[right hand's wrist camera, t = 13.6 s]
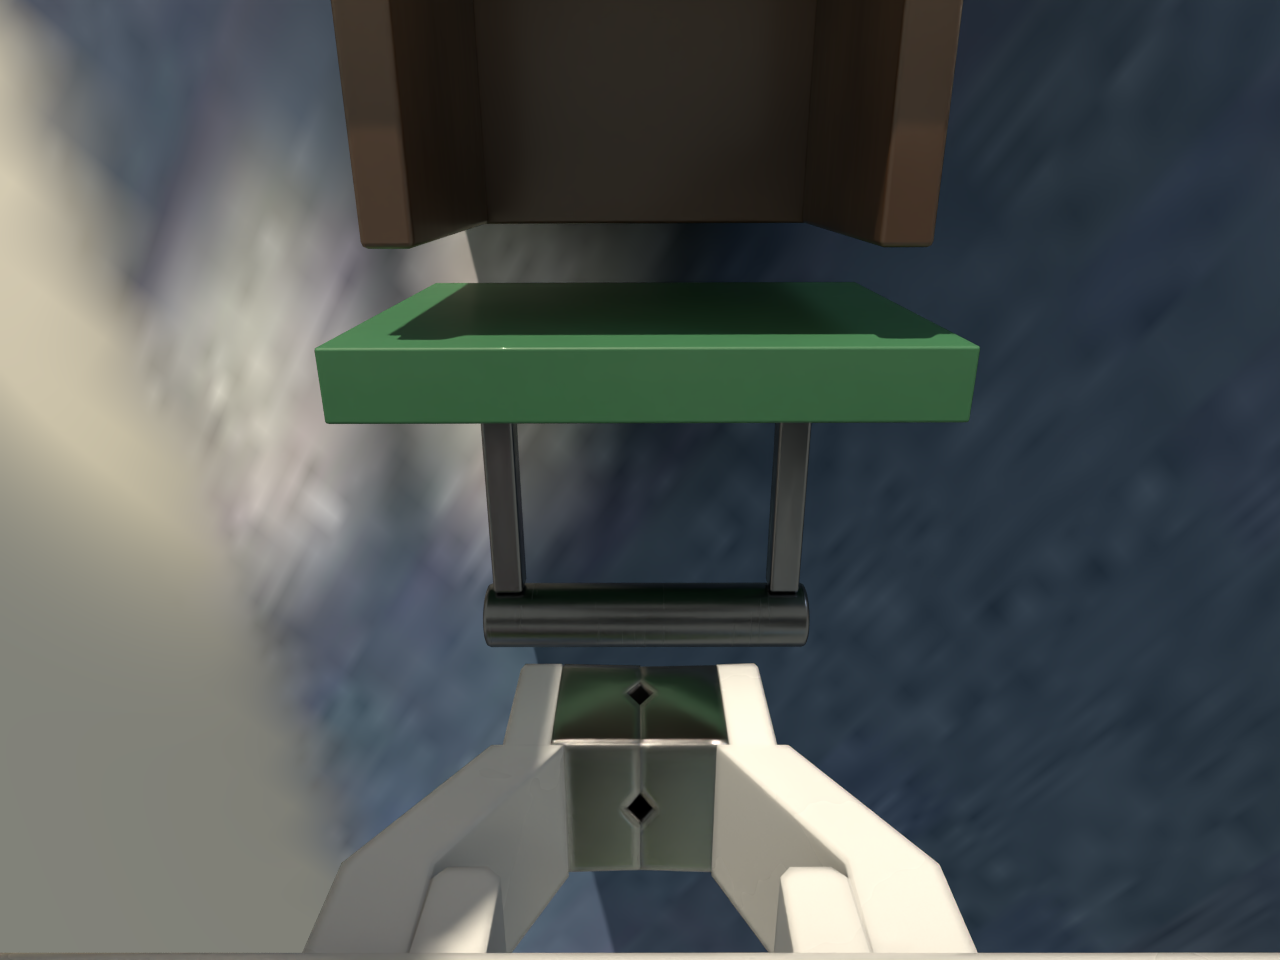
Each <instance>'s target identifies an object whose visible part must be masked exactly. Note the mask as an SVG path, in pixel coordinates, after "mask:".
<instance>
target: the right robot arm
mask: <svg viewBox="0 0 1280 960" xmlns="http://www.w3.org/2000/svg"><path fill="white" fill-rule="evenodd" d="M617 870H661V871H697V872H712V873H711V875H712V877H713V878H714V880H715V881H716V882H717V884H718V885H719V886H720V888H721V889H722V890H723V892H724V893H725V894H726V896H727V897H728V898H729V900H730V901H731V902H732V904H733V905H734V907H735V908H736V909H737V911H738V912H739V913H740V915H741V916H742V917H743V919H744V920H745V921H746V923H747V924H748V925H749V927H750V928H751V930H752V931H753V932H754V934H755V935H756V936H757V938H758V939H759V940H760V942H761V943H762V944H763V946H764V947H765V948H766V950H767V951H768V952H769V953H512V952H513V950H514V949H515V948H516V946H517V945H518V944H519V942H520V941H521V940H522V938H523V937H524V936H525V934H526V933H527V931H528V930H529V929H530V927H531V926H532V925H533V923H534V922H535V921H536V919H537V918H538V917H539V915H540V914H541V913H542V911H543V910H544V909H545V907H546V906H547V905H548V903H549V902H550V901H551V899H552V898H553V897H554V895H555V894H556V893H557V891H558V890H559V888H560V887H561V886H562V884H563V883H564V882H565V880H566V879H567V878H568V876H569V872H583V871H617ZM0 960H1280V953H978V952H977V950H976V948H975V945H974V943H973V941H972V939H971V936H970V934H969V932H968V929H967V927H966V925H965V922H964V920H963V918H962V915H961V913H960V911H959V909H958V906H957V904H956V902H955V899H954V897H953V895H952V892H951V890H950V888H949V885H948V883H947V881H946V879H945V876H944V874H943V872H942V869H941V867H940V865H939V864H938V863H937V862H936V861H934V860H933V859H932V858H931V857H929V856H928V855H927V854H926V853H924V852H923V851H922V850H921V849H919V848H918V847H917V846H915V845H914V844H913V843H912V842H910V841H909V840H908V839H907V838H905V837H904V836H903V835H902V834H900V833H899V832H898V831H897V830H895V829H894V828H893V827H891V826H890V825H889V824H888V823H886V822H885V821H884V820H883V819H881V818H880V817H879V816H878V815H876V814H875V813H874V812H873V811H871V810H870V809H869V808H867V807H866V806H865V805H864V804H862V803H861V802H860V801H859V800H857V799H856V798H855V797H854V796H852V795H851V794H850V793H849V792H847V791H846V790H845V789H843V788H842V787H841V786H840V785H838V784H837V783H836V782H835V781H833V780H832V779H831V778H830V777H828V776H827V775H826V774H825V773H823V772H822V771H821V770H820V769H818V768H817V767H816V766H814V765H813V764H812V763H811V762H809V761H808V760H807V759H806V758H804V757H803V756H802V755H801V754H799V753H798V752H797V751H796V750H794V749H793V748H792V747H790V746H789V745H777V742H776V738H775V734H774V730H773V726H772V722H771V718H770V714H769V710H768V706H767V702H766V697H765V693H764V689H763V685H762V681H761V677H760V673H759V669H758V667H757V666H756V665H755V664H754V663H749V664H721V665H703V666H652V667H640V666H635V665H586V664H565V665H564V666H563V665H562V664H525V665H524V667H523V668H522V669H521V672H520V676H519V680H518V684H517V689H516V693H515V697H514V701H513V705H512V709H511V713H510V717H509V722H508V726H507V730H506V734H505V738H504V742H503V745H491V746H490V747H488V748H487V749H486V750H485V751H483V752H482V753H481V754H479V755H478V756H477V757H476V758H474V759H473V760H472V761H471V762H469V763H468V764H467V765H466V766H464V767H463V768H462V769H460V770H459V771H458V772H457V773H455V774H454V775H453V776H452V777H450V778H449V779H448V780H446V781H445V782H444V783H443V784H441V785H440V786H439V787H438V788H436V789H435V790H434V791H433V792H431V793H430V794H429V795H427V796H426V797H425V798H424V799H422V800H421V801H420V802H419V803H417V804H416V805H415V806H413V807H412V808H411V809H410V810H408V811H407V812H406V813H405V814H403V815H402V816H401V817H400V818H398V819H397V820H396V821H394V822H393V823H392V824H391V825H389V826H388V827H387V828H386V829H384V830H383V831H382V832H380V833H379V834H378V835H377V836H375V837H374V838H373V839H372V840H370V841H369V842H368V843H367V844H365V845H364V846H363V847H361V848H360V849H359V850H358V851H356V852H355V853H354V854H353V855H351V856H350V857H349V858H348V859H346V860H345V861H344V862H342V863H341V866H340V868H339V870H338V873H337V875H336V877H335V879H334V882H333V884H332V886H331V888H330V891H329V893H328V895H327V898H326V900H325V902H324V904H323V907H322V909H321V911H320V914H319V916H318V918H317V920H316V923H315V925H314V927H313V930H312V932H311V934H310V936H309V939H308V941H307V943H306V945H305V948H304V950H303V952H302V953H0Z"/></svg>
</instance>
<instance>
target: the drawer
mask: <svg viewBox="0 0 1280 960" xmlns="http://www.w3.org/2000/svg"><path fill="white" fill-rule="evenodd" d="M331 6H332V14H333V22H334V30H335V38H336V46H337V54H338V62H339V70H340V78H341V86H342V94H343V102H344V110H345V118H346V126H347V134H348V143H349V151H350V159H351V167H352V175H353V183H354V191H355V199H356V207H357V215H358V223H359V231H360V239H361V243H362V245H363V247H365V248H368V249H410V248H413V247H416V246H419V245H422V244H425V243H428V242H431V241H434V240H437V239H440V238H443V237H446V236H449V235H452V234H455V233H458V232H461V231H464V230H467V229H470V228H473V227H477V226H480V225H483V224H571V223H807V224H811V225H814V226H817V227H820V228H824V229H827V230H830V231H833V232H837V233H840V234H843V235H846V236H850V237H853V238H856V239H859V240H862V241H866V242H869V243H872V244H875V245H879V246H882V247H928V246H930V245H932V243H933V240H934V232H935V224H936V216H937V208H938V200H939V192H940V184H941V176H942V168H943V160H944V152H945V144H946V136H947V128H948V120H949V112H950V104H951V96H952V88H953V80H954V72H955V64H956V56H957V47H958V39H959V31H960V23H961V15H962V7H963V0H331ZM979 352H980V347H979V346H977V345H975V344H973V343H971V342H970V341H968V340H966V339H964V338H962V337H960V336H958V335H956V334H954V333H952V332H950V331H948V330H946V329H944V328H942V327H940V326H939V325H937V324H935V323H933V322H931V321H929V320H927V319H925V318H923V317H921V316H919V315H917V314H915V313H913V312H911V311H909V310H908V309H906V308H904V307H902V306H900V305H898V304H896V303H894V302H892V301H890V300H888V299H886V298H884V297H882V296H880V295H878V294H876V293H875V292H873V291H871V290H869V289H867V288H865V287H863V286H861V285H859V284H857V283H855V282H711V283H436V284H434V285H432V286H430V287H428V288H426V289H424V290H422V291H421V292H419V293H417V294H415V295H413V296H411V297H409V298H408V299H406V300H404V301H402V302H400V303H398V304H397V305H395V306H393V307H391V308H389V309H387V310H385V311H384V312H382V313H380V314H378V315H376V316H374V317H372V318H371V319H369V320H367V321H365V322H363V323H361V324H359V325H358V326H356V327H354V328H352V329H350V330H348V331H346V332H345V333H343V334H341V335H339V336H337V337H335V338H334V339H332V340H330V341H328V342H326V343H324V344H322V345H321V346H319V347H317V348H315V357H316V363H317V370H318V376H319V383H320V390H321V396H322V403H323V409H324V416H325V422H326V423H328V424H475V423H481V433H482V445H483V458H484V471H485V484H486V496H487V509H488V522H489V535H490V547H491V560H492V573H493V584H490V585H489V586H488V589H487V591H486V595H485V600H484V609H483V629H484V637H485V640H486V643H487V645H488V646H490V647H801V646H804V645H805V644H806V642H807V639H808V634H809V623H810V616H809V603H808V597H807V592H806V590H805V587H804V585H803V584H801V583H799V578H800V565H801V552H802V539H803V526H804V514H805V501H806V488H807V475H808V462H809V449H810V436H811V424H812V423H880V422H968V421H969V418H970V411H971V405H972V398H973V392H974V385H975V379H976V372H977V365H978V359H979ZM517 423H775V436H774V453H773V469H772V486H771V502H770V519H769V535H768V552H767V568H766V580H767V583H525V581H526V567H525V550H524V534H523V518H522V501H521V485H520V469H519V453H518V436H517Z"/></svg>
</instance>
